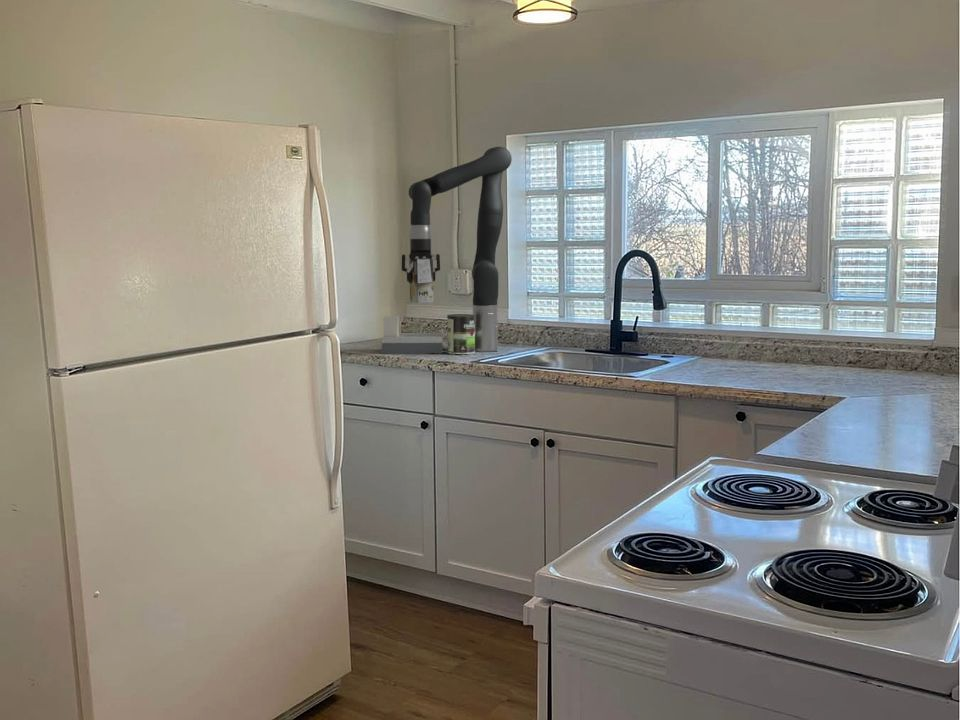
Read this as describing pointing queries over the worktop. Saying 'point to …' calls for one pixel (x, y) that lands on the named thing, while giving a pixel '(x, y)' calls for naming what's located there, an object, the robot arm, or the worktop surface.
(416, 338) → the rail
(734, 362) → the worktop surface
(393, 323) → the block
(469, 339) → the coffee can
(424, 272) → the coffee box
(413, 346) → the rail base
